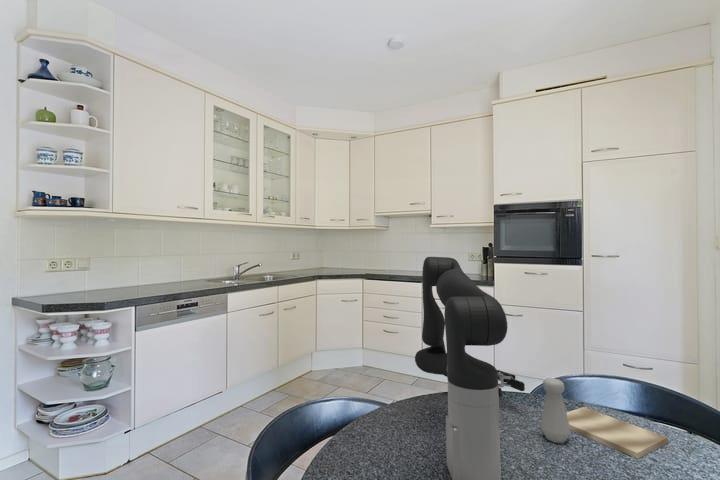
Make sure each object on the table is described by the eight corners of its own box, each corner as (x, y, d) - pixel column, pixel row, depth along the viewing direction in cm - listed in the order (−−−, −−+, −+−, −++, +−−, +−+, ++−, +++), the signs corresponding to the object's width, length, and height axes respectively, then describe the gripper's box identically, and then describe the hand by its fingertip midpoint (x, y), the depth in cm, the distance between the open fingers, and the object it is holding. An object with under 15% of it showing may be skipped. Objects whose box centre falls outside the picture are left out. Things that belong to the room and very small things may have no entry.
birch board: (552, 422, 86) (552, 417, 86) (583, 411, 92) (583, 406, 92) (637, 459, 70) (637, 452, 70) (668, 443, 76) (667, 437, 76)
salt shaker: (574, 446, 75) (572, 385, 75) (545, 444, 76) (543, 383, 77) (564, 433, 80) (562, 376, 81) (537, 431, 81) (535, 374, 82)
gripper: (447, 362, 100) (492, 379, 85) (483, 355, 106) (530, 370, 92) (447, 389, 99) (493, 411, 85) (483, 380, 106) (531, 399, 91)
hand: (512, 390), depth 88 cm, fingers open, 8 cm apart
